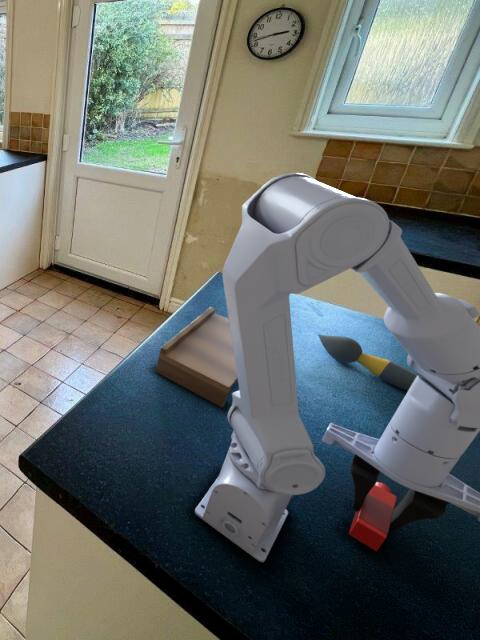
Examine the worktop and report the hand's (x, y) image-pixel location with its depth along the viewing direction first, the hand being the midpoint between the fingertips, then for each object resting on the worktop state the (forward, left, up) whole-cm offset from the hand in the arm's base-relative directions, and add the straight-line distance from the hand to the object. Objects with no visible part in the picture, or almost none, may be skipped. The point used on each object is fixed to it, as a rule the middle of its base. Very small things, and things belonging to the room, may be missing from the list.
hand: (373, 514), depth 52 cm
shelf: (+18, +26, -2) cm, 32 cm away
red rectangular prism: (0, 0, -1) cm, 1 cm away
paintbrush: (+38, +5, -2) cm, 38 cm away
